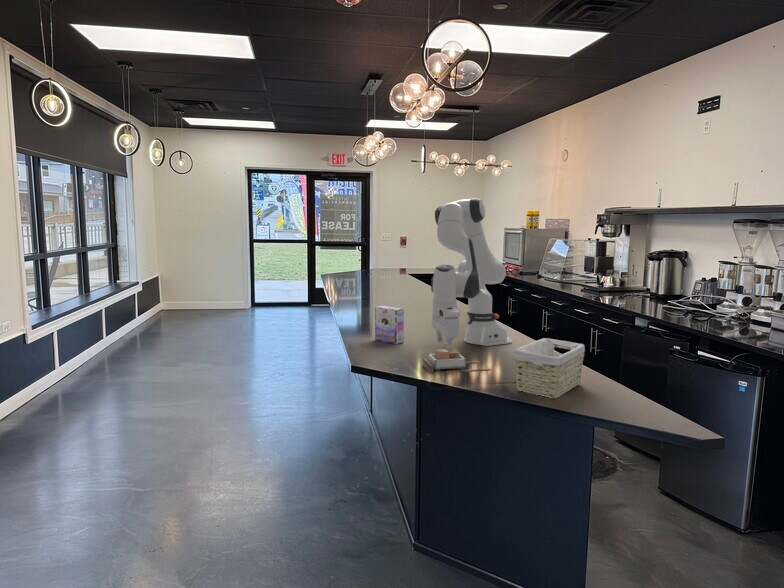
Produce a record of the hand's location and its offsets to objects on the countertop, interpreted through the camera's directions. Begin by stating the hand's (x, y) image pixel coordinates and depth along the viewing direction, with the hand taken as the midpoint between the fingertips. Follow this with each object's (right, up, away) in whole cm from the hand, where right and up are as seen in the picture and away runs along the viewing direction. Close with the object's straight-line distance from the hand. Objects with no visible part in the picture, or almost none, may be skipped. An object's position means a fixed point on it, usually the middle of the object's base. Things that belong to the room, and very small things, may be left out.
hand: (444, 344), depth 195 cm
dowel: (+4, -7, +2) cm, 8 cm away
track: (+5, -10, +3) cm, 12 cm away
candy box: (-21, -4, +50) cm, 54 cm away
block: (-1, -7, +1) cm, 7 cm away
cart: (+1, -9, +1) cm, 9 cm away
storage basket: (+34, -13, -16) cm, 40 cm away
